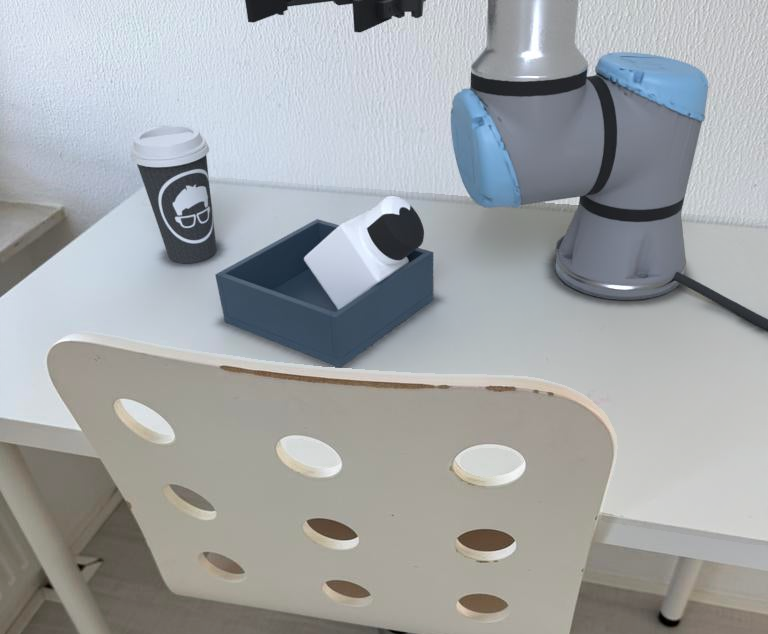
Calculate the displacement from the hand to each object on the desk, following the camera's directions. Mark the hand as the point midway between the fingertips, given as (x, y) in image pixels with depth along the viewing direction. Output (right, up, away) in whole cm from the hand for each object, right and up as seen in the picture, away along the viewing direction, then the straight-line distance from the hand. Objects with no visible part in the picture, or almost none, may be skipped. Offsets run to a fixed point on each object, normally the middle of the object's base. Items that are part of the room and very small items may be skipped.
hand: (300, 12), depth 80 cm
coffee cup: (-17, -17, +24) cm, 34 cm away
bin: (+2, -28, +11) cm, 30 cm away
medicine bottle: (+3, -25, +9) cm, 27 cm away
